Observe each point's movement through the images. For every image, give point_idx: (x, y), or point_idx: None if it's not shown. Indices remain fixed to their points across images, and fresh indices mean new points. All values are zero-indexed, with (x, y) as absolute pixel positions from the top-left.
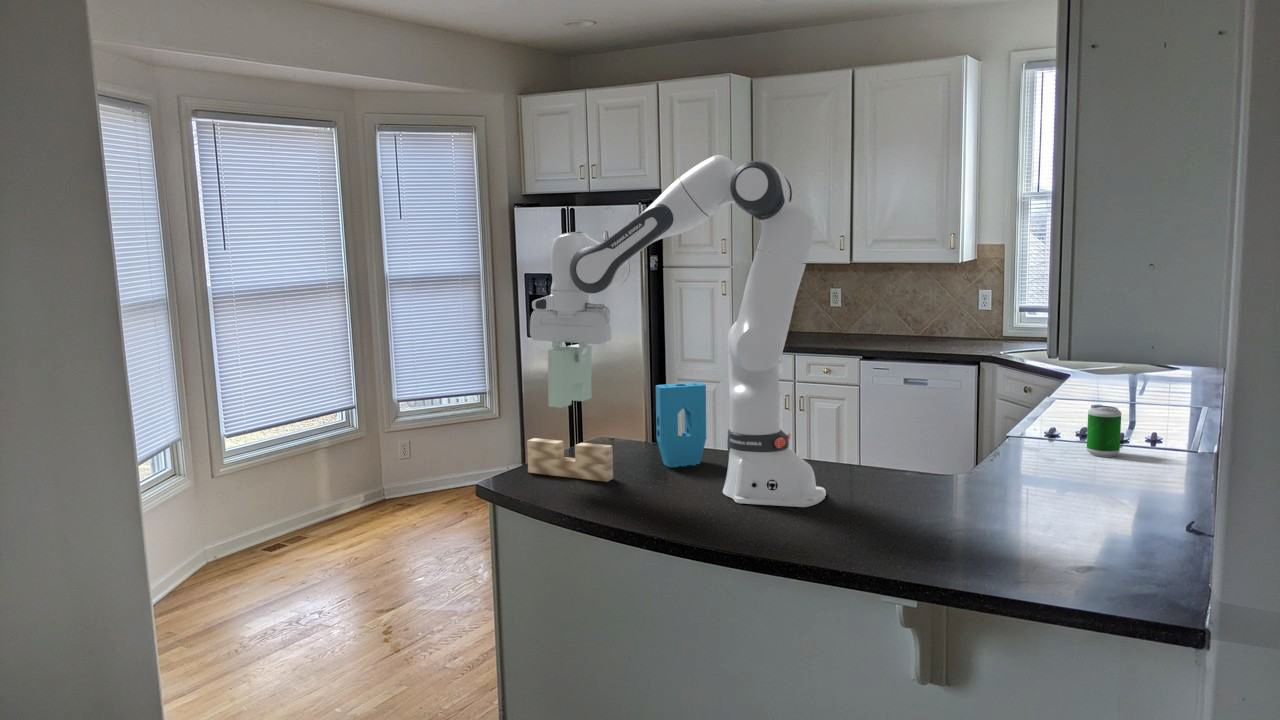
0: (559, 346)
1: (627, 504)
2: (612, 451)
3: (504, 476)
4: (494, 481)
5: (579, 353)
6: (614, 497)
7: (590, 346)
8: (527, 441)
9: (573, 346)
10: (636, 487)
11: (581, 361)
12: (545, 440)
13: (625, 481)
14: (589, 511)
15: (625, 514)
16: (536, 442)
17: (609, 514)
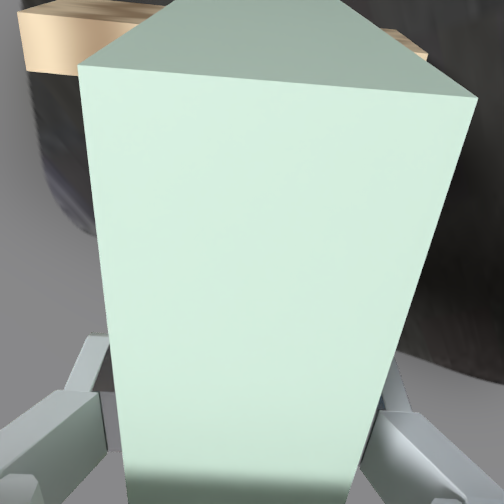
0: (19, 470)
1: (491, 259)
2: (421, 49)
3: (40, 114)
4: (55, 172)
5: (384, 486)
6: (446, 218)
7: (448, 129)
8: (30, 70)
9: (224, 441)
10: (495, 109)
11: None
12: (98, 44)
13: (446, 50)
14: (412, 320)
15: (496, 319)
16: (76, 75)
17: (461, 326)
